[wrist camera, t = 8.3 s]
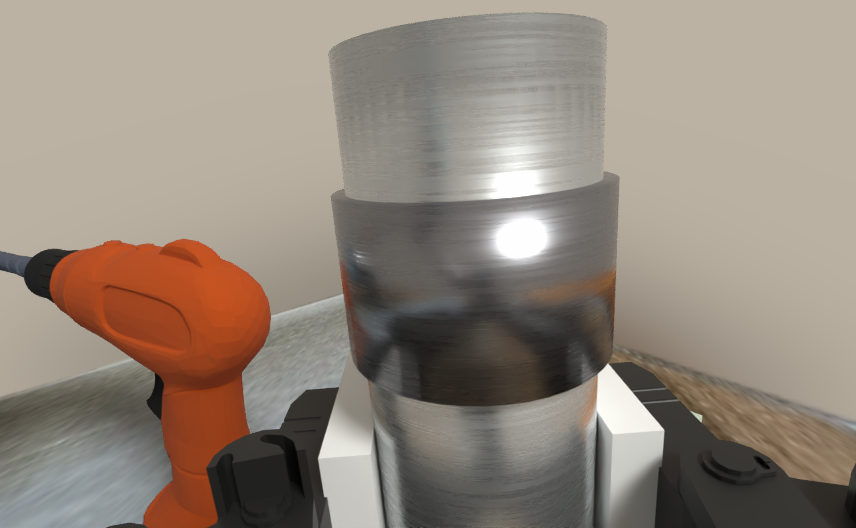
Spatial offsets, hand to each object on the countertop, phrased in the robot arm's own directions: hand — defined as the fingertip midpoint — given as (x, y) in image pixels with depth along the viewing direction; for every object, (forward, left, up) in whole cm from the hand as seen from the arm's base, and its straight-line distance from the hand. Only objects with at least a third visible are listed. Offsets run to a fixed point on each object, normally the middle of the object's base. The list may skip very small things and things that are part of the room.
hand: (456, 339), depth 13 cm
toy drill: (-17, -6, -12) cm, 22 cm away
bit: (+4, -3, -9) cm, 11 cm away
